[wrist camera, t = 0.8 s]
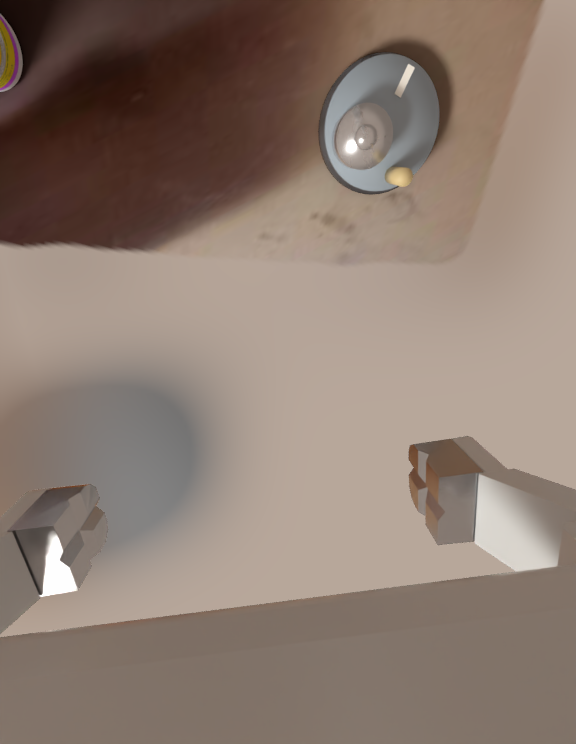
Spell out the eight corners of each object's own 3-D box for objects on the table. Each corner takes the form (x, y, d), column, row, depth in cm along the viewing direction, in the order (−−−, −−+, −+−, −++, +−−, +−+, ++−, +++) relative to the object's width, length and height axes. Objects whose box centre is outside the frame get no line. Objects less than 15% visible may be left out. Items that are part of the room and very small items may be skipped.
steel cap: (360, 92, 34) (369, 86, 31) (394, 138, 36) (406, 136, 33) (320, 140, 36) (325, 138, 33) (355, 180, 38) (363, 182, 35)
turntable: (388, 23, 33) (406, 2, 29) (456, 126, 37) (481, 122, 33) (300, 130, 37) (305, 127, 32) (371, 213, 41) (384, 220, 37)
